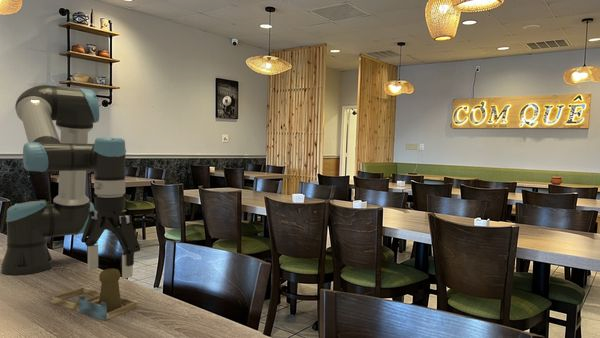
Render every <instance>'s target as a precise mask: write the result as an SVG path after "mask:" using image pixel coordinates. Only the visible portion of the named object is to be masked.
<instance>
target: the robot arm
mask: <svg viewBox="0 0 600 338" xmlns="http://www.w3.org/2000/svg"><path fill="white" fill-rule="evenodd" d="M98 100H99V99H98V98H97V95H96V93H95V92H94V91H93V90H92V89H88V88H82V87H72V86H61V85H58V86H57V85H50V84H49V85H48V84H40V85H34V86H32V87H29V88H28V89H26V90H25V91H23V92H22V93H21V94H20V95H19V96H18V98H17V99H16V102H15V107H14V108H15V109H14V110H15V112H16V116H17V117H18V119H19V120H20V121H21V122H22V125H23V127H24V131H25V135H26V140H27V143H24V144H23V148H22V162H23V168H24V169H25V170H26V171H28V172H40V173H44V172H59V173H58V195H56V196H54V198H53V204H47V202H46V201H45V200H33V201H26V202H22V203H17V204H14V205H11V206H10V207H9V208H7V211H6V219H5V221H6V241H7V242H6V252H5V253H4V257H3V259H2V263H1V265H0V271H1V273H2V274H4V275H11V276H13V275H14V276H16V275H18V276H19V275H20V276H21V275H30V274H35V273H40V272H45V271H47V270H49V269H51V268H52V267H53V258H52V256H51V253H50V251H49V248H48V246H47V238H53V237H54V238H55V237H62V236H73V235H75V236H77V235H81V234H82V237H81V240H80V242H81V243H82V244H83V243H85V246H86V255H87V270H88V271H91V270H95V269H98V268H99V245H98V244H99V243H98V241H99V239H100V238H101V236H102V235H103V233H104V232H105V231H106V230H107V231H109V232H111V233H112V234H114V235H115V237H116V240H117V241H118V242H119V243H118V244H119V245H120V246H121V248H122V251H123V254H122V255H121V259H122V260H121V279H122V280H125V279H129V278H132V277H133V266H134V262H135V259H134V258H135V253H137V252H140V251H141V246H140V243H139V241H138V238H137V235H136V232H135V229H134V226H133V221H132V220H133V219H132V215H130V214H128V215H123V211H124V210H125V209H126V196H125V194H126V154H127V149H126V140H125V139H124V138H122V137H96V138H95V140H94V143H89V141H88V140H89V139H88V138H89V132H90V131H91V130H93V129H94V124H96V123H98V122H99V121H100V105H99V101H98ZM54 121H55V124H54ZM56 127H57V128H58V129H59V131H60V137H59V135H58V132H57V130H56ZM87 171H90V172H91V171H94V194H95V195H96V196H95V197H93V198H94V203H93V202H91V201H90V198H89V197H88V196H87V195H86V184H87V183H86V182H87V181H86V179H87Z"/></svg>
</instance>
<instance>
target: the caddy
mask: <svg viewBox="0 0 600 338" xmlns="http://www.w3.org/2000/svg"><path fill="white" fill-rule="evenodd" d="M100 291H101V290H97V289H93V288H89V287H85V286H82V287H79V288H76V289H73V290H69V291H67V292H63V293H60V294H56V295H54V296H51V297H50V299H49V300H50V301H49V302H50V304H54V305H58V306H60V307H63V308H67V309H69V310H74V311H77V312H78V313H79V314H83V315H85V316H88V317H92V318H95V319H97V320H102V321H108V320H110V319H113V318H115V317H118V316H120V315H123V314H125V313H127V312H130V311H132V310H134V309H137V308H138V307H139V301H138V300H134V299H131V298H126V297H122V296H120V297H121V304H122V305H124V306H122V307H121V308H119V309H116V310H114V311H111V312H108V313H107V307H106V303H105V302H101V305H99V298H100ZM80 294H86V295H90V296H92V297H89V298H86V299H85V296H84V295H80ZM78 295H79V296H78ZM75 296H78V302H77V301H76V302H71V301H68V300H65V299H68V298H71V297H72V298H73V297H75Z"/></svg>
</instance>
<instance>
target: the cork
mask: <svg viewBox="0 0 600 338" xmlns="http://www.w3.org/2000/svg"><path fill="white" fill-rule="evenodd" d="M98 277H99V281H100V285H101V286H100V290H99V291H100V298H99V305H101V302H105V303H106V307H107V313H108V312H111V311H114V310H116V309H119V308H121V307H123V304H122V303H121V297H122V296H121V293H120V292H121V291H120V285H119V281H120V279H121V272H120V270H119V269H117V268H107V269H103V270H102V271H100V273H99V275H98Z"/></svg>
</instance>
